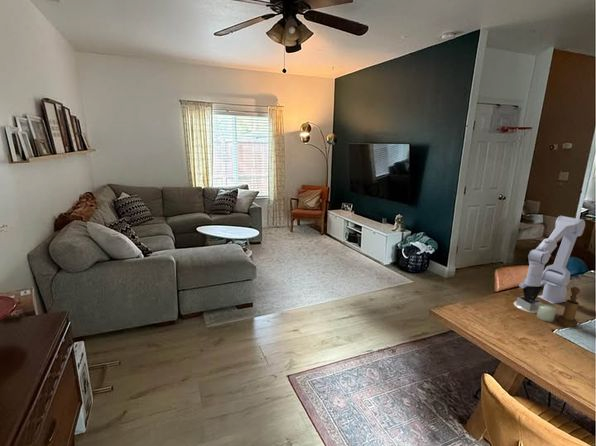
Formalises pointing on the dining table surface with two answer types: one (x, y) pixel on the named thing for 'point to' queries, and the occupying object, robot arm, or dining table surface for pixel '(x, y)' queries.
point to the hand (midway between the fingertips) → (529, 299)
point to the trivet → (524, 309)
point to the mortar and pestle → (570, 310)
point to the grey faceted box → (526, 305)
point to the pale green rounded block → (546, 312)
